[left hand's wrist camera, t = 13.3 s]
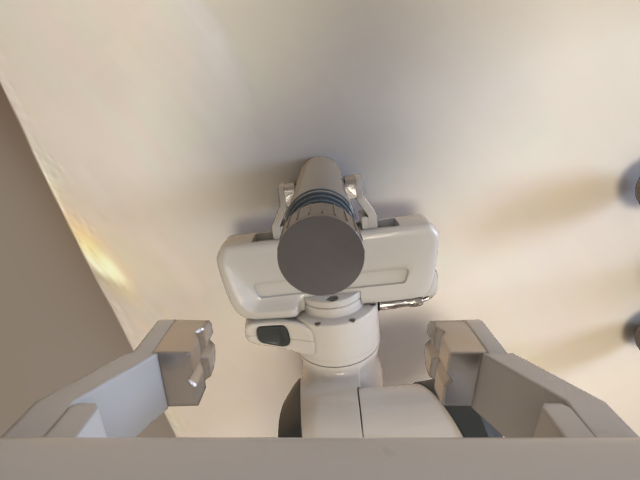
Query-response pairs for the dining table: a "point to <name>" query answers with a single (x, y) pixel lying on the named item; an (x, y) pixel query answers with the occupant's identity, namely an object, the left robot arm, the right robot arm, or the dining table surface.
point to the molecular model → (639, 331)
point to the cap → (320, 249)
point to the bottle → (320, 186)
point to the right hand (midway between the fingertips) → (318, 179)
